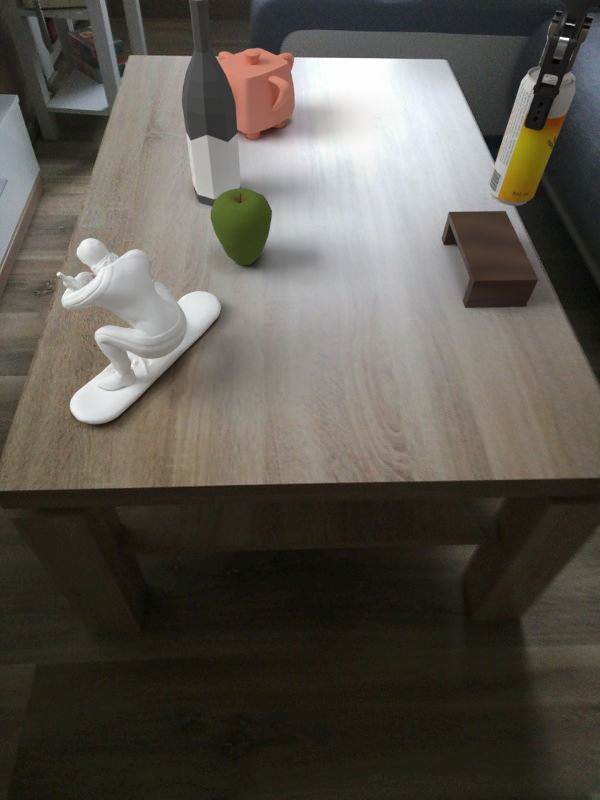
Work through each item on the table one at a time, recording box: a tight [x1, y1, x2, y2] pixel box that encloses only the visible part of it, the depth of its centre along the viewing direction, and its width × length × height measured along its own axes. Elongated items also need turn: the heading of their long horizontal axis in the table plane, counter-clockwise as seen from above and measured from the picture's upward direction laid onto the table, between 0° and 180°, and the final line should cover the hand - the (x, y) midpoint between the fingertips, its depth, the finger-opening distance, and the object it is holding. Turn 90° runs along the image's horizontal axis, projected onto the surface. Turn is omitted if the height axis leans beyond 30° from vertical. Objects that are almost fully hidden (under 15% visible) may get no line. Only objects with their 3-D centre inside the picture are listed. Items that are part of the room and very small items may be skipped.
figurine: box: [56, 237, 222, 425], centre depth 66 cm, size 26×13×17 cm, turn 148°
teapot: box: [217, 47, 296, 140], centre depth 105 cm, size 17×16×13 cm
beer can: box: [487, 65, 577, 207], centre depth 69 cm, size 6×6×15 cm
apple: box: [209, 187, 273, 266], centre depth 81 cm, size 9×8×12 cm
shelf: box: [441, 210, 539, 308], centre depth 83 cm, size 16×9×5 cm, turn 3°
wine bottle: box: [181, 0, 242, 207], centre depth 84 cm, size 8×8×30 cm
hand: (538, 115), depth 67 cm, fingers closed on beer can, 6 cm apart
